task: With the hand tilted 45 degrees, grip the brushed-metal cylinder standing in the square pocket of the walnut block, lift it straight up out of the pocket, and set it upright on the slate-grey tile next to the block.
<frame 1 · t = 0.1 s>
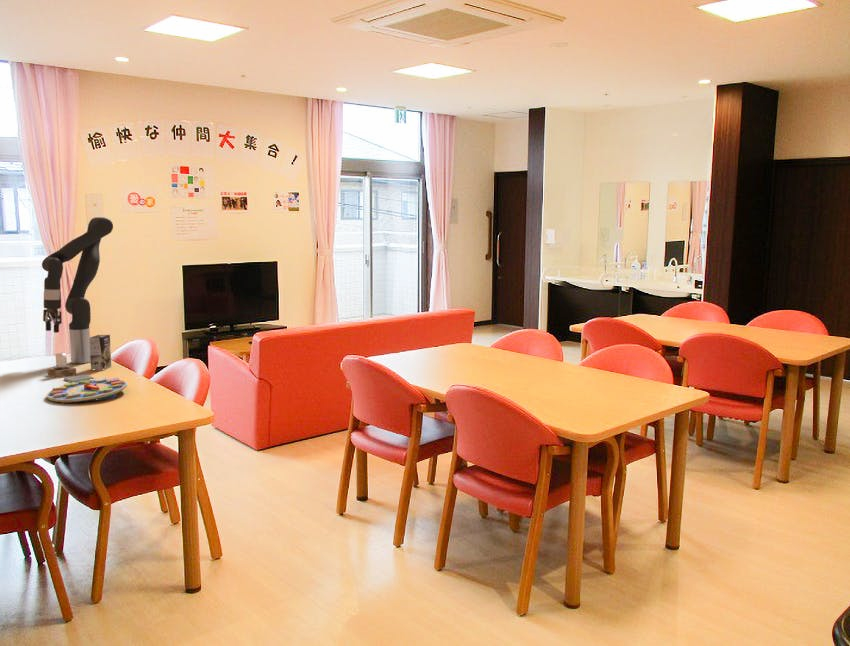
hand: (52, 331, 354), 17 cm above the table, tool pointing down, fingers open, 8 cm apart
coffee box: (101, 368, 353), on the table
pocket block: (62, 374, 338), on the table
slate tile: (78, 379, 328), on the table
metal cylinder: (61, 364, 337), in the pocket block
shape sorting clock: (88, 396, 301), on the table
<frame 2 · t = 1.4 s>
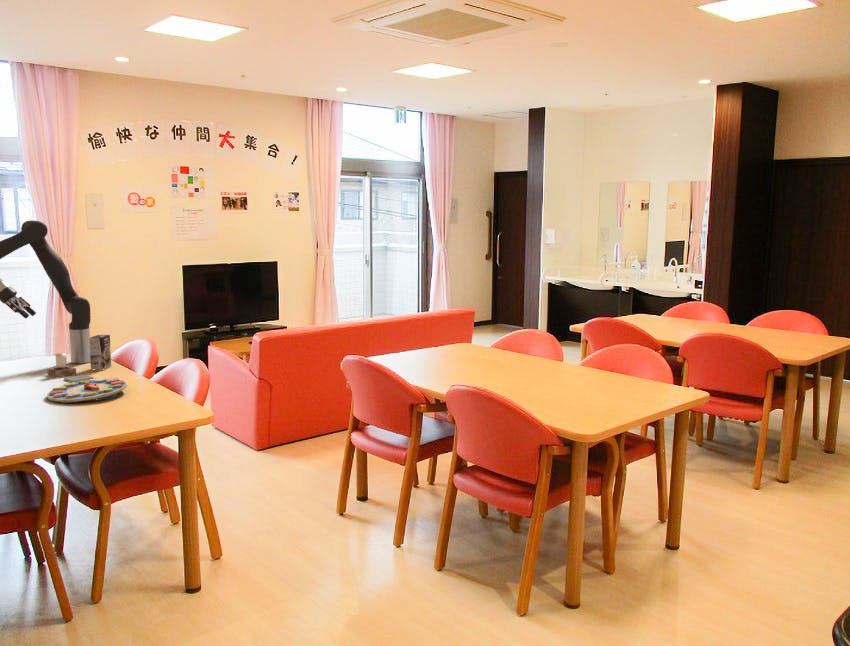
hand: (31, 315, 332), 28 cm above the table, tool tilted 45°, fingers open, 8 cm apart
nothing on the table moved.
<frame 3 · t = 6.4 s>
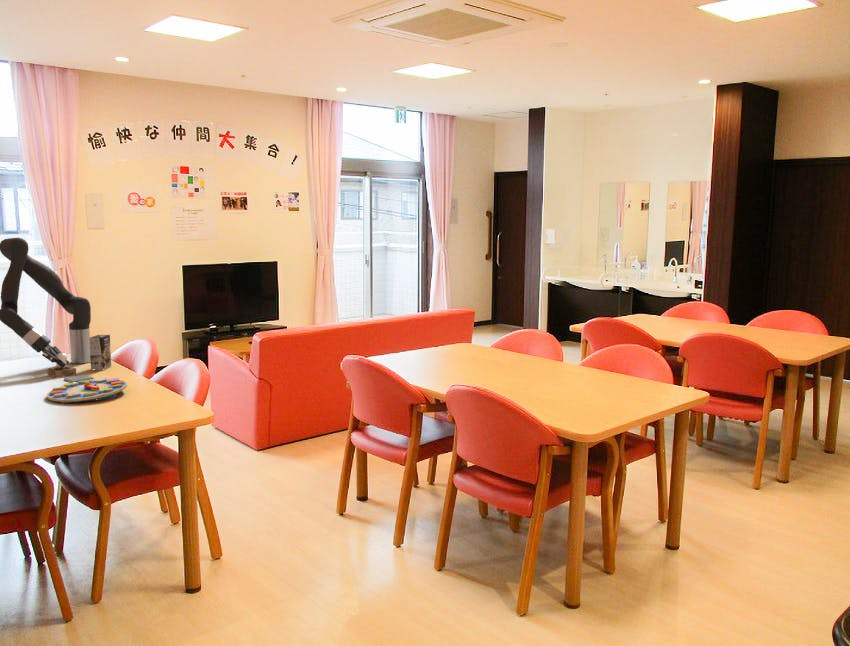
hand: (65, 365, 337), 5 cm above the table, tool tilted 45°, fingers closed on metal cylinder, 4 cm apart
metal cylinder: (61, 364, 337), in the pocket block, touching gripper
everything else where it was.
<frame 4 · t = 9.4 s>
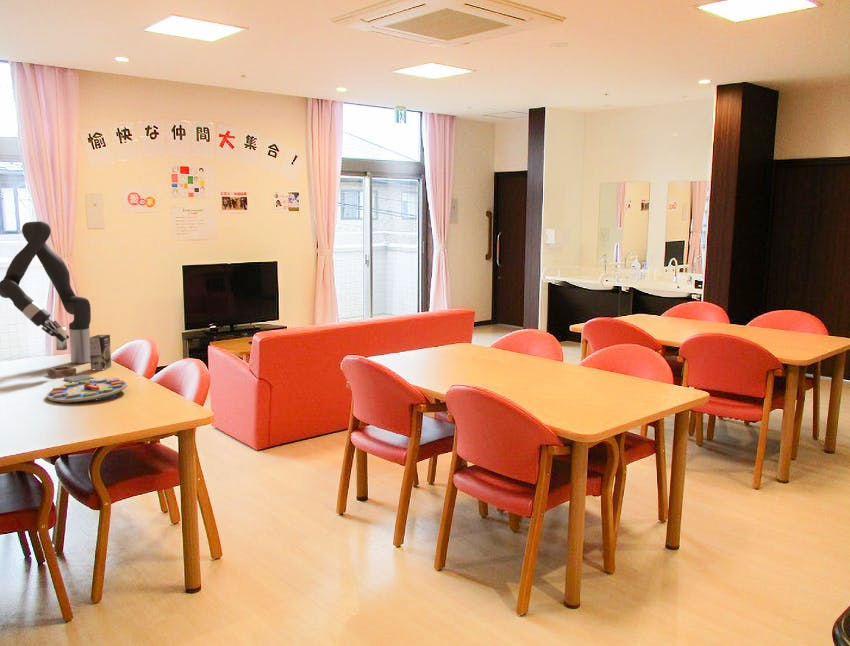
hand: (65, 339, 334), 17 cm above the table, tool tilted 45°, fingers closed on metal cylinder, 4 cm apart
metal cylinder: (61, 338, 333), point 17 cm above the table, touching gripper
everything else where it was.
when the fingers open (7 cm above the table, at t = 12.5 s): metal cylinder drops 1 cm, resting on slate tile.
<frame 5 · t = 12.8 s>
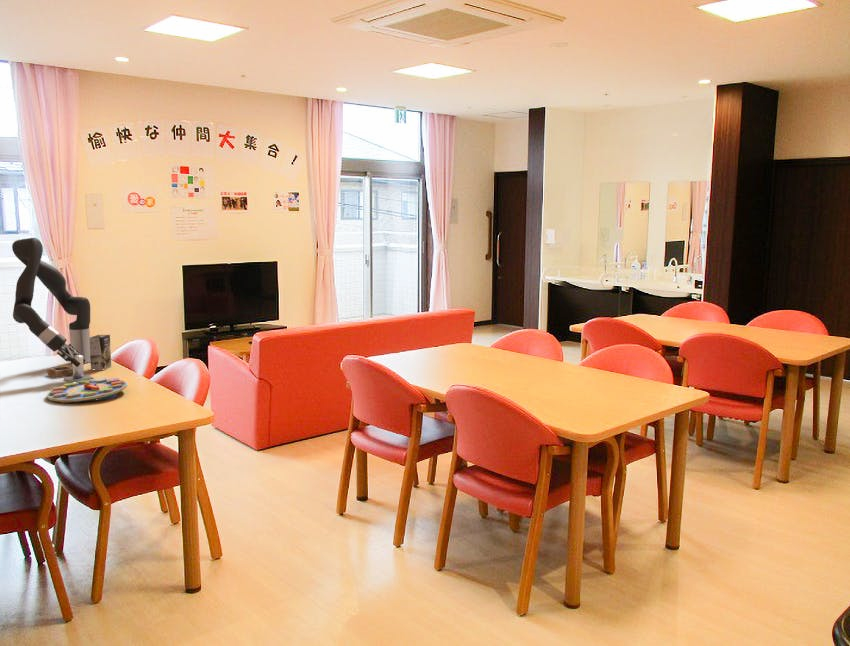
hand: (81, 363, 327), 7 cm above the table, tool tilted 45°, fingers open, 7 cm apart
metal cylinder: (78, 366, 327), on the slate tile, point 6 cm above the table
everything else where it was.
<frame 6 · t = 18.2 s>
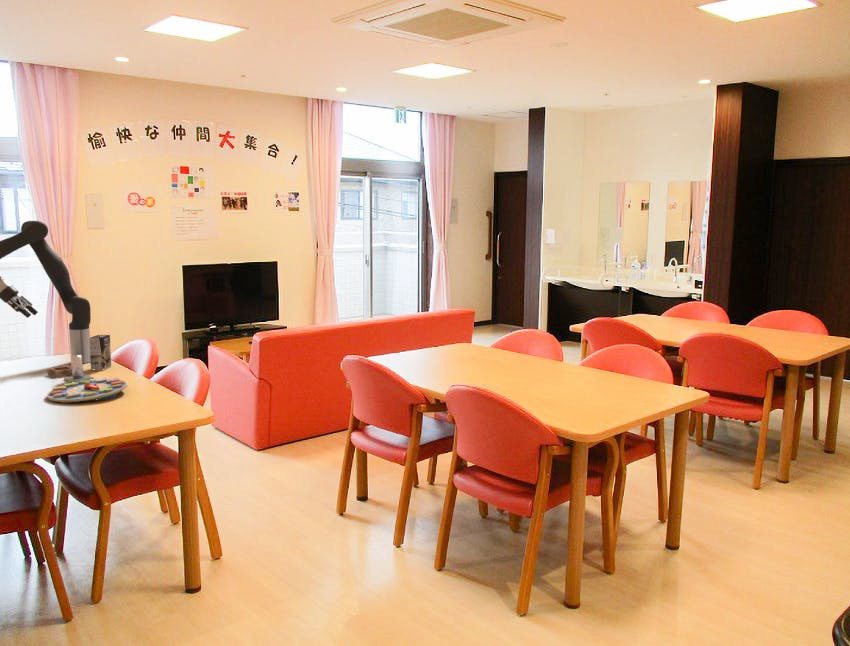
hand: (33, 315, 330), 29 cm above the table, tool tilted 45°, fingers open, 8 cm apart
nothing on the table moved.
at the end: metal cylinder inside the target area on the slate tile (0.2 cm from its centre), point 6.1 cm above the slate tile's base; metal cylinder tilted 2°; the gripper is holding nothing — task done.
